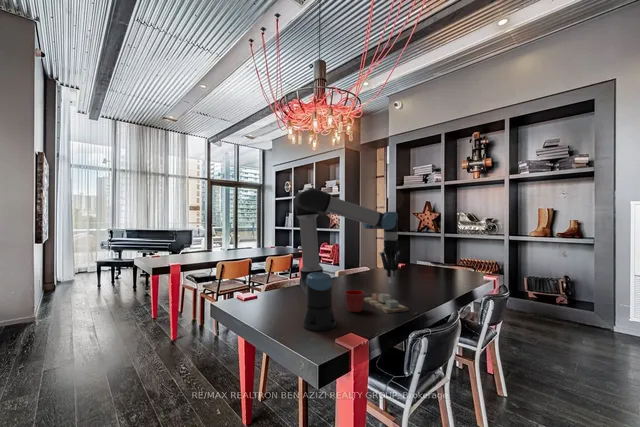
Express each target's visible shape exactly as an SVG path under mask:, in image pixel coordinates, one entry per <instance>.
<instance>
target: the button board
mask: <svg viewBox="0 0 640 427" xmlns="http://www.w3.org/2000/svg"><path fill="white" fill-rule="evenodd" d="M363 302H366V303H367V304H369V305H371V306H373V307H375V308H376V309H378V310H380V311H382V312H384V313H386V314H392V313H401V312H409V307H407V306H405V305H403V304H400V303H399V302H398V306H399V307H397V308H389V307H387V306H386V302H384V303H383V302H381V301H379V300H378V301H375V300H373V299H372V296H367V297H364V300H363Z"/></svg>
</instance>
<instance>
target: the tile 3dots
mask: <svg viewBox="0 0 640 427" xmlns="http://www.w3.org/2000/svg"><path fill="white" fill-rule="evenodd" d="M378 294H381V293H380V292H377V293H371V297H372V299H373V300H375V301H378Z"/></svg>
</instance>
